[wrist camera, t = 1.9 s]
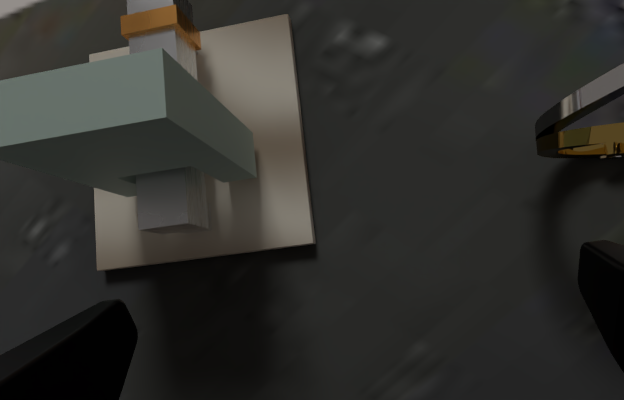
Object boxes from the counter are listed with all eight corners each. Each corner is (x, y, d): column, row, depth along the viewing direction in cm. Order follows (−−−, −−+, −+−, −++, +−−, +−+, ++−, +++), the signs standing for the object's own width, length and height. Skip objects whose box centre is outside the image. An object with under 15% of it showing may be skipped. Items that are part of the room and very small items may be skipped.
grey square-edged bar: (225, 230, 22) (190, 221, 19) (173, 238, 23) (130, 230, 19) (208, 20, 24) (173, -24, 21) (160, 30, 24) (119, -12, 21)
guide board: (315, 244, 22) (312, 242, 21) (104, 270, 24) (97, 270, 23) (290, 20, 24) (287, 13, 23) (96, 59, 26) (89, 54, 25)
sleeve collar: (256, 177, 22) (166, 117, 14) (127, 197, 23) (-28, 151, 15) (251, 117, 22) (160, 24, 14) (124, 138, 23) (-27, 63, 15)
